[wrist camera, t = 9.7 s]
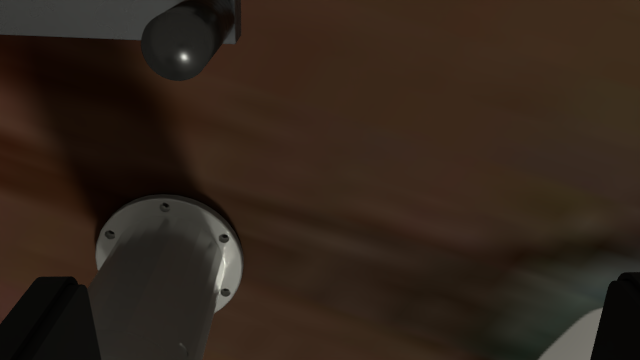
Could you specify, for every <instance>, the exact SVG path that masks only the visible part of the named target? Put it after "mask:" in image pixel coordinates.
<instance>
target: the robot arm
mask: <svg viewBox="0 0 640 360" xmlns="http://www.w3.org/2000/svg"><path fill="white" fill-rule="evenodd" d="M165 203H167V204H168V205H166V204H165ZM223 234H226V235H223ZM95 257H96V264H97V269H98V273H97V274H96V276H95V278H94V279H93V281H92V282H91V284H90V286H89V287H88V289H87V288H86V286H85V285H78V283H77V281H76V279H75V278H74V277H39V278H37V279H36V280H35V281H34V282H33V283H32V285H31V286H30V287H29V288H28V290H27V291H26V292H25V293H24V295H23V296H22V297H21V299H20V300H19V301H18V302H17V304H16V305H15V306H14V307H13V309H12V310H11V311H10V313H9V314H8V315H7V316H6V318H5V319H4V320H3V321H2V323H1V324H0V360H202V358H203V354H204V350H205V346H206V343H207V339H208V335H209V331H210V327H211V323H212V319H213V315H214V313H215V312H217V311H218V310H220V309H221V308H223V307H224V306H225V305H226V304H227V303H228V302H229V301H230V300H231V299H232V297H233V296H234V294H235V292H236V291H237V289H238V287H239V284H240V281H241V278H242V272H243V252H242V248H241V244H240V241H239V239H238V237H237V235H236V233H235V231H234V230H233V229H232V227H231V226H230V225H229V223H228V222H227V221H226V220H225V219H224V218H223V217H222V216H221V215H220V214H219V213H217V212H216V211H215V210H213V209H211V208H210V207H208V206H207V205H205V204H203V203H201V202H198V201H196V200H194V199H191V198H187V197H183V196H179V195H169V194H158V195H149V196H145V197H141V198H138V199H135V200H133V201H131V202H129V203H127V204H125V205H123V206H122V207H121V208H120V209H118V210H117V211H116V212H115V213H114V214H113V215H112V216H111V217H110V219H109V220H108V221H107V222H106V224H105V225H104V227H103V228H102V230H101V232H100V234H99V237H98V240H97V243H96V253H95ZM590 360H640V272H625V273H622V274H621V275H620V276H619V277H618V280H617V281H612V282H611V283H610V284H609V287H608V290H607V294H606V298H605V302H604V306H603V310H602V314H601V318H600V322H599V327H598V331H597V335H596V339H595V343H594V347H593V351H592V355H591V359H590Z"/></svg>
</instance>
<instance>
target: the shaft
mask: <svg viewBox="0 0 640 360" xmlns="http://www.w3.org/2000/svg"><path fill="white" fill-rule="evenodd" d="M0 34H3V35H27V36H52V37H77V38H101V39H126V40H141V48H142V53H143V56H144V58H145V60H146V62H147V64H148V65H149V66H150V68H151V69H152V70H153V71H155V72H156V73H157V74H158V75H160V76H162V77H164V78H166V79H170V80H175V81H182V80H187V79H190V78H193V77H194V76H196V75H198V74H199V73H200V72H201V71H202V70H203V68H204V67H205V66H206V64H207V63H208V62H209V61H210V59H211V58H212V57H213V55H214V54H215V53H216V51H217V50H218V49H219V47H220V46H221V45H222V44H223V43H224V44H236V42H237V41H238V39H239V38H240V36H241V0H0Z"/></svg>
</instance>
